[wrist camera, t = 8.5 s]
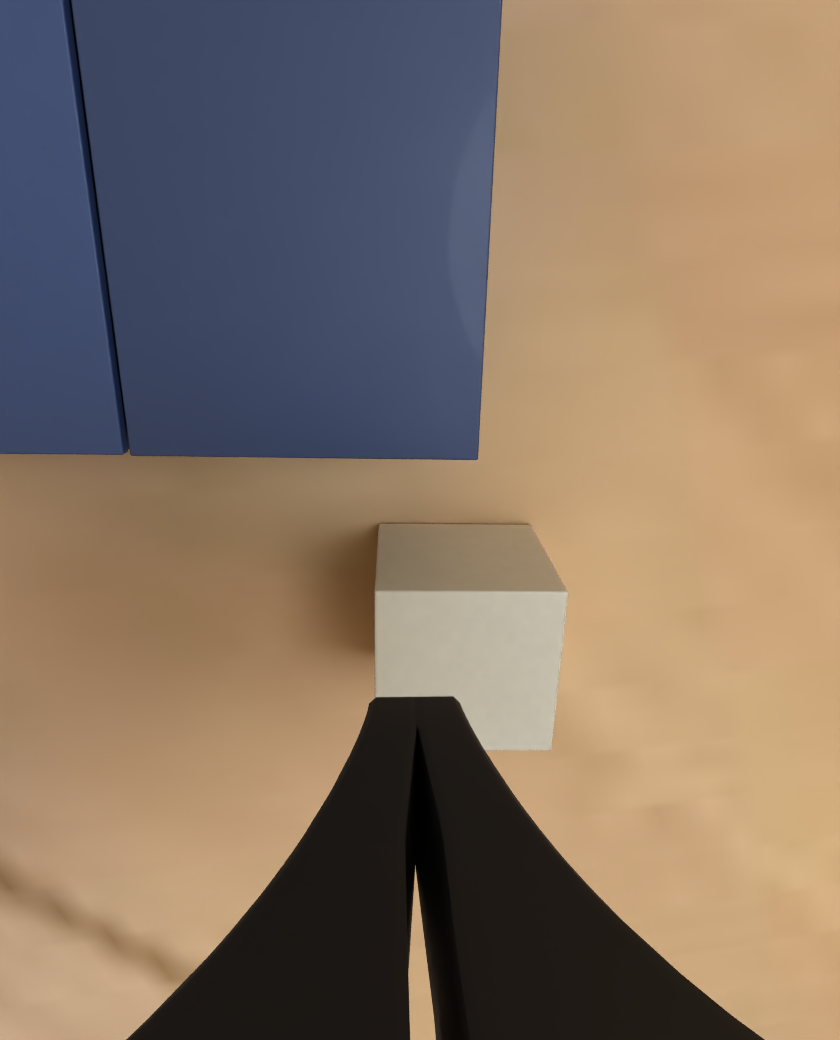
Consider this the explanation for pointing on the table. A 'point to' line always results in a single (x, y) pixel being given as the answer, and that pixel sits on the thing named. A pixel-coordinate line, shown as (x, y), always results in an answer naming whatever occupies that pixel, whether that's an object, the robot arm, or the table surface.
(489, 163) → the carton
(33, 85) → the flap
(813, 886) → the table surface
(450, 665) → the block
